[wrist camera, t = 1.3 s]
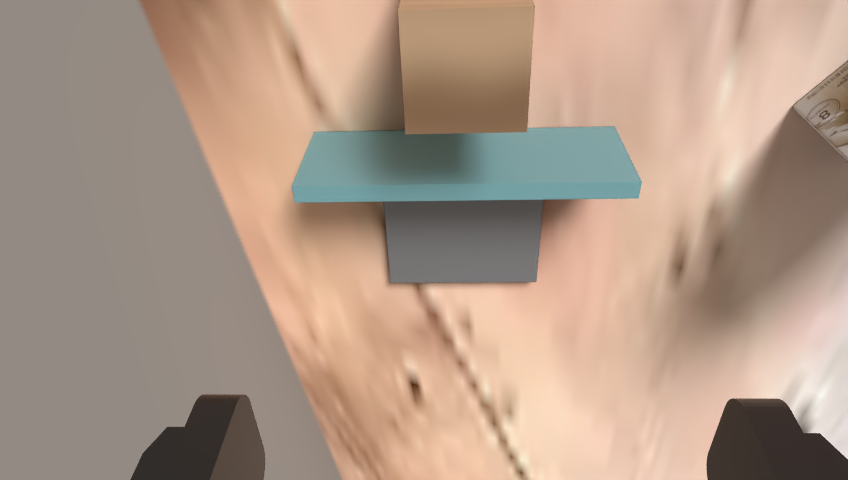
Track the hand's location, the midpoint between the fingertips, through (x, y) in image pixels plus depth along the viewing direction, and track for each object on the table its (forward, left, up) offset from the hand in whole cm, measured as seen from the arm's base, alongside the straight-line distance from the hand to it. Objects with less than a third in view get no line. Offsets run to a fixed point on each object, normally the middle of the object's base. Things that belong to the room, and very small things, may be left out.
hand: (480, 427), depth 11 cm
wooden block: (0, 0, -28) cm, 28 cm away
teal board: (+8, 0, -28) cm, 29 cm away
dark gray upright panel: (+15, 0, -28) cm, 32 cm away
